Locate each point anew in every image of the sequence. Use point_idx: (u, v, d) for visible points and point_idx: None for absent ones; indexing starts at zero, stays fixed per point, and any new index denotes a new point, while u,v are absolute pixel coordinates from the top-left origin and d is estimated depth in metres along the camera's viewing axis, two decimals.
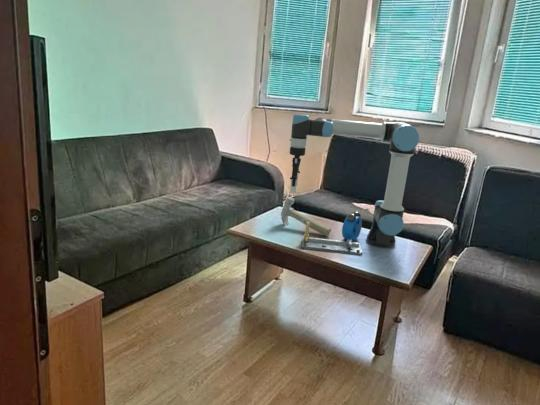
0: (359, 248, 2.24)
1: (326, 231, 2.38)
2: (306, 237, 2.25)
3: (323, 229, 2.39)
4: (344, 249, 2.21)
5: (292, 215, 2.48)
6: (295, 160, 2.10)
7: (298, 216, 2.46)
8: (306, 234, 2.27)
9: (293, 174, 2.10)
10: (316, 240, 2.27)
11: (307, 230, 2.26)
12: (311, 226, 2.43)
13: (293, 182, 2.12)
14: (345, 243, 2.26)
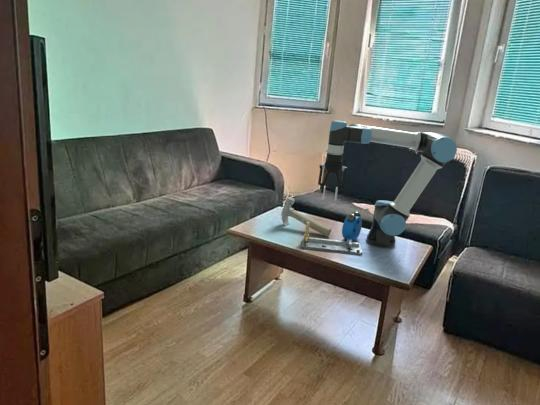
0: (359, 248, 2.24)
1: (326, 231, 2.38)
2: (306, 237, 2.25)
3: (323, 229, 2.39)
4: (344, 249, 2.21)
5: (292, 215, 2.48)
6: None
7: (298, 216, 2.46)
8: (306, 234, 2.27)
9: None
10: (316, 240, 2.27)
11: (307, 230, 2.26)
12: (311, 226, 2.43)
13: (321, 188, 2.18)
14: (345, 243, 2.26)
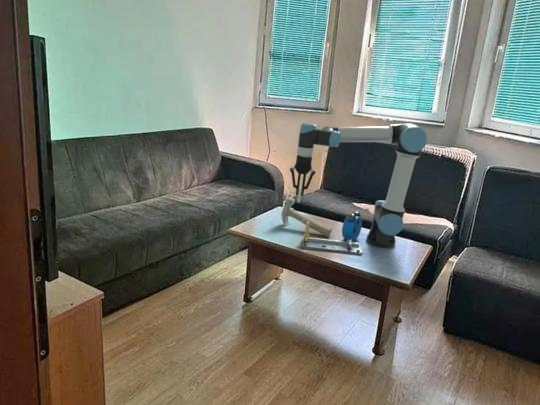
0: (359, 248, 2.24)
1: (327, 231, 2.38)
2: (306, 237, 2.25)
3: (324, 229, 2.39)
4: (344, 249, 2.21)
5: (293, 215, 2.48)
6: (290, 169, 2.19)
7: (299, 216, 2.46)
8: (306, 234, 2.27)
9: None
10: (316, 240, 2.27)
11: (307, 230, 2.26)
12: (311, 226, 2.43)
13: (296, 191, 2.22)
14: (345, 243, 2.26)
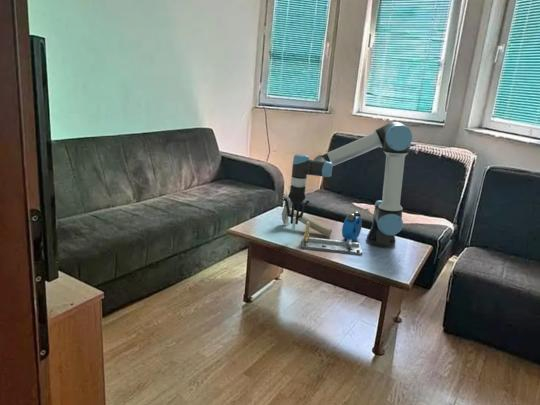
0: (359, 248, 2.24)
1: (327, 231, 2.38)
2: (306, 237, 2.25)
3: (324, 229, 2.39)
4: (344, 249, 2.21)
5: (293, 216, 2.48)
6: None
7: None
8: (306, 234, 2.27)
9: (287, 211, 2.26)
10: (316, 240, 2.27)
11: (307, 230, 2.26)
12: (312, 226, 2.42)
13: None
14: (345, 243, 2.26)
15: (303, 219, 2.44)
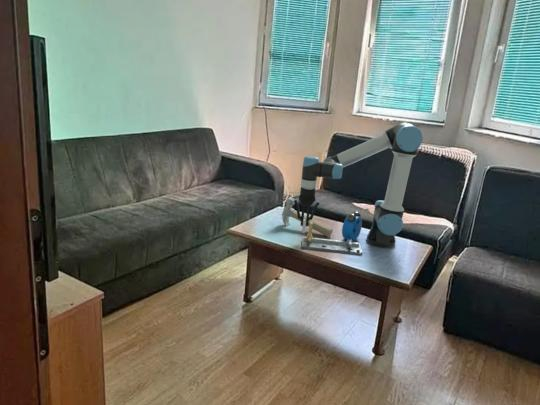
0: (359, 248, 2.24)
1: (328, 232, 2.38)
2: (309, 237, 2.25)
3: (325, 230, 2.39)
4: (344, 249, 2.21)
5: (293, 216, 2.47)
6: (294, 201, 2.24)
7: None
8: (309, 234, 2.27)
9: None
10: (316, 240, 2.27)
11: (310, 230, 2.26)
12: (312, 227, 2.42)
13: None
14: (345, 243, 2.26)
15: None
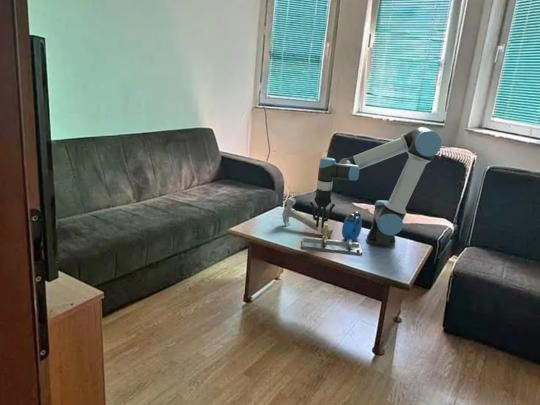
0: (359, 248, 2.24)
1: (328, 232, 2.38)
2: (325, 239, 2.24)
3: None
4: (344, 249, 2.21)
5: (294, 216, 2.47)
6: (310, 202, 2.23)
7: (300, 217, 2.45)
8: (324, 236, 2.26)
9: (313, 215, 2.25)
10: (316, 240, 2.27)
11: (325, 232, 2.25)
12: (313, 227, 2.42)
13: (316, 223, 2.26)
14: (345, 243, 2.26)
15: (304, 219, 2.44)
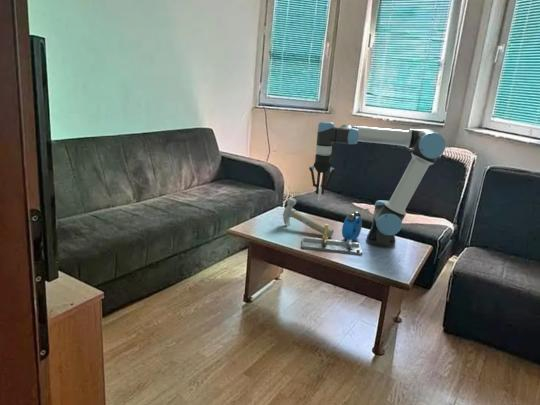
0: (359, 248, 2.24)
1: (329, 232, 2.37)
2: (325, 239, 2.24)
3: None
4: (344, 249, 2.21)
5: (294, 216, 2.47)
6: None
7: (300, 217, 2.45)
8: (325, 236, 2.26)
9: (312, 181, 2.21)
10: (316, 240, 2.27)
11: (326, 232, 2.25)
12: (313, 227, 2.42)
13: (316, 189, 2.22)
14: (345, 243, 2.26)
15: (304, 219, 2.44)
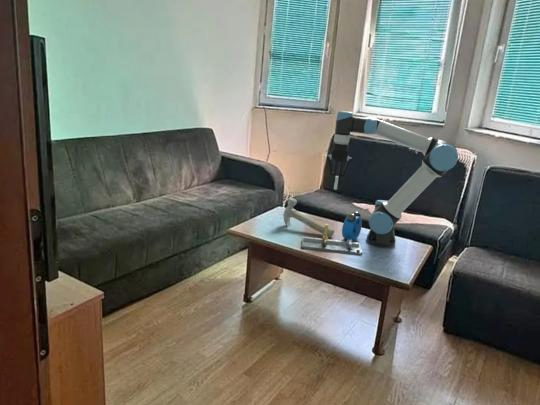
0: (359, 248, 2.24)
1: (330, 232, 2.37)
2: (325, 239, 2.24)
3: None
4: (344, 249, 2.21)
5: (295, 216, 2.47)
6: (327, 157, 2.23)
7: (301, 217, 2.45)
8: (325, 236, 2.26)
9: None
10: (316, 240, 2.27)
11: (326, 232, 2.25)
12: (314, 227, 2.42)
13: None
14: (345, 243, 2.26)
15: (305, 220, 2.44)
